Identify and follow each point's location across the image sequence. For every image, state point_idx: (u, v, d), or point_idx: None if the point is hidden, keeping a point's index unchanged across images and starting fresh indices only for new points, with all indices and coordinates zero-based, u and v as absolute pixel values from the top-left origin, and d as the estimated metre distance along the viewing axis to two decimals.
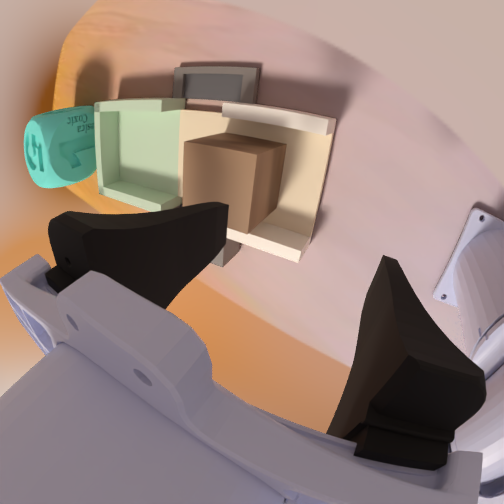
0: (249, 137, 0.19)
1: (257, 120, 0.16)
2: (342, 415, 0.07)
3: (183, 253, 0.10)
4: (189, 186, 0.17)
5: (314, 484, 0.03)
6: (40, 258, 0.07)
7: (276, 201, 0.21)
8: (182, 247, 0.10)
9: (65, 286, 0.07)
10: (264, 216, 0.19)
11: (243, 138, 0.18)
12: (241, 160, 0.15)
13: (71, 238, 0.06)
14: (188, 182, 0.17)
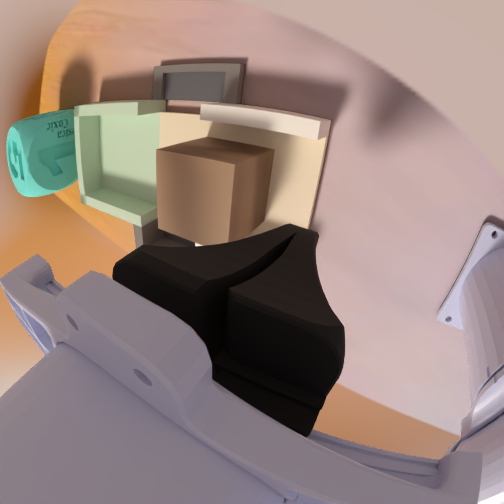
0: (232, 142, 0.17)
1: (239, 123, 0.14)
2: None
3: None
4: (163, 199, 0.15)
5: (314, 484, 0.03)
6: (40, 258, 0.07)
7: (263, 214, 0.19)
8: None
9: None
10: (248, 232, 0.17)
11: (225, 143, 0.16)
12: (217, 171, 0.13)
13: (166, 291, 0.05)
14: (162, 195, 0.15)
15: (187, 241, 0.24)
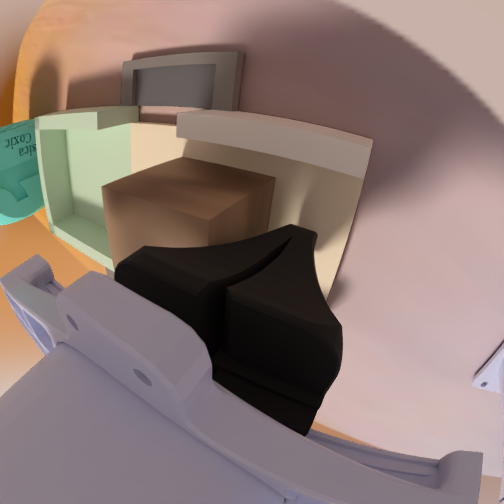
0: (215, 166, 0.12)
1: (235, 144, 0.09)
2: None
3: None
4: (118, 255, 0.11)
5: (314, 484, 0.03)
6: (40, 258, 0.07)
7: None
8: None
9: None
10: None
11: (204, 169, 0.12)
12: (183, 227, 0.08)
13: (168, 292, 0.05)
14: (116, 249, 0.11)
15: None
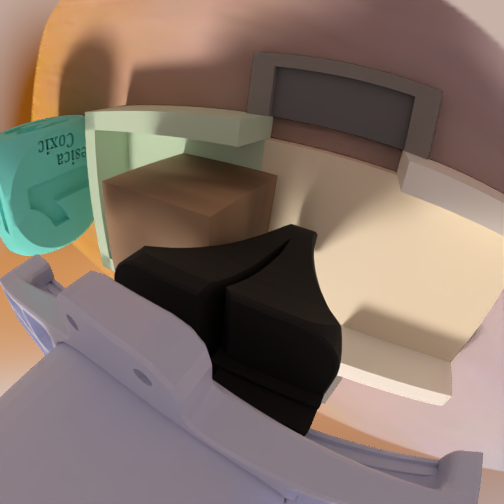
0: (217, 163, 0.12)
1: (472, 218, 0.07)
2: None
3: None
4: (118, 251, 0.11)
5: (314, 484, 0.03)
6: (40, 258, 0.07)
7: None
8: None
9: None
10: None
11: (206, 166, 0.11)
12: (184, 224, 0.08)
13: (169, 292, 0.05)
14: (116, 245, 0.10)
15: None
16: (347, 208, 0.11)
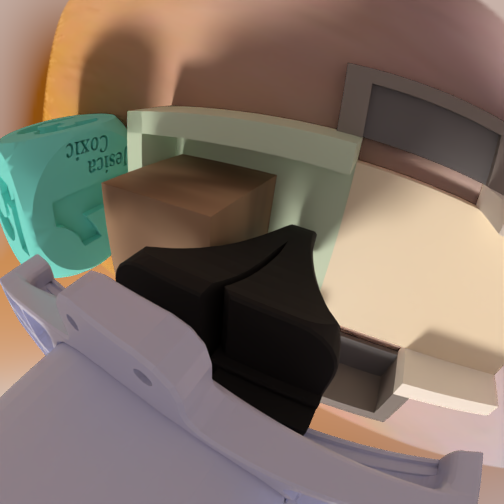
0: (216, 163, 0.12)
1: None
2: None
3: None
4: (118, 253, 0.11)
5: (314, 484, 0.03)
6: (40, 258, 0.07)
7: None
8: None
9: None
10: None
11: (205, 166, 0.11)
12: (184, 224, 0.08)
13: (171, 293, 0.05)
14: (116, 247, 0.10)
15: (343, 359, 0.15)
16: (432, 239, 0.10)
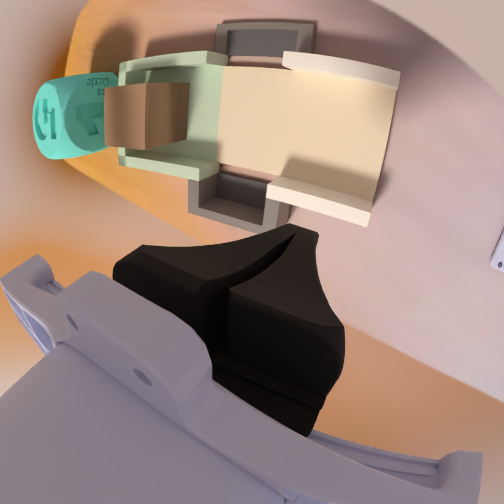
0: None
1: (324, 69, 0.13)
2: None
3: None
4: (108, 121, 0.18)
5: (314, 484, 0.03)
6: (40, 258, 0.07)
7: (184, 132, 0.21)
8: None
9: None
10: (167, 141, 0.20)
11: None
12: (137, 90, 0.16)
13: (166, 291, 0.05)
14: (107, 118, 0.18)
15: (245, 199, 0.23)
16: (269, 93, 0.17)
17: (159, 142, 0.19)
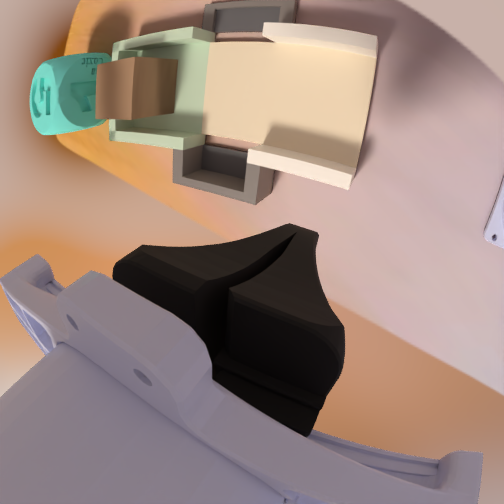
0: None
1: (302, 36, 0.13)
2: None
3: None
4: (99, 96, 0.18)
5: (314, 484, 0.03)
6: (40, 258, 0.07)
7: (172, 106, 0.21)
8: None
9: None
10: (154, 113, 0.19)
11: None
12: (126, 64, 0.15)
13: (166, 291, 0.05)
14: (98, 93, 0.18)
15: (229, 170, 0.22)
16: (252, 65, 0.17)
17: (146, 113, 0.19)
